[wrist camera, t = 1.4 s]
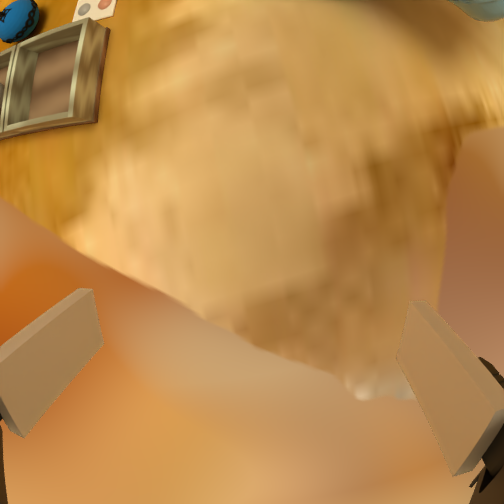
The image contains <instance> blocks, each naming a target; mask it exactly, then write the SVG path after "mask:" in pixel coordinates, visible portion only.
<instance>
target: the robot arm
mask: <svg viewBox="0 0 504 504" xmlns="http://www.w3.org/2000/svg"><path fill="white" fill-rule="evenodd" d="M447 1H449V2H452V3H454V4H455V5H456V6H457V7H459V8H460V9H461V10H462V11H464V12H465V13H466V14H467V15H468V16H470V17H471V18H473V19H475V20H479V21H484V22H490V21H496V20H500V19H503V18H504V0H447ZM103 344H104V341H103V337H102V333H101V328H100V323H99V319H98V314H97V309H96V304H95V299H94V293H93V289H85V288H78V289H77V290H76V291H74V292H73V293H71V294H70V295H68V296H67V297H66V298H64V299H63V300H61V301H60V302H59V303H57V304H56V305H55V306H53V307H52V308H50V309H49V310H48V311H46V312H45V313H44V314H42V315H41V316H40V317H38V318H37V319H36V320H34V321H33V322H31V323H30V324H29V325H27V326H26V327H25V328H24V329H22V330H21V331H20V332H19V333H17V334H16V335H14V336H13V337H12V338H11V339H9V340H8V341H7V342H5V343H4V344H3V345H2V346H0V421H1V420H2V419H3V420H4V421H5V423H6V425H7V426H8V428H9V430H10V431H12V432H14V433H16V434H17V435H19V436H21V437H23V438H25V437H26V435H27V434H28V433H29V432H30V430H31V429H32V428H33V427H34V425H35V424H36V423H37V422H38V420H39V419H40V418H41V417H42V416H43V414H44V413H45V412H46V410H47V409H48V408H49V407H50V406H51V405H52V403H53V402H54V401H55V400H56V399H57V397H58V396H59V395H60V394H61V393H62V392H63V390H64V389H65V388H66V387H67V386H68V384H69V383H70V382H71V381H72V380H73V379H74V378H75V376H76V375H77V374H78V373H79V372H80V371H81V369H82V368H83V367H84V366H85V365H86V364H87V363H88V361H89V360H90V359H91V358H92V357H93V356H94V354H95V353H96V352H97V351H98V350H99V349H100V348H101V347H102V346H103ZM396 359H397V361H398V363H399V365H400V367H401V369H402V370H403V372H404V374H405V376H406V378H407V380H408V382H409V384H410V386H411V388H412V390H413V392H414V394H415V396H416V398H417V400H418V402H419V404H420V406H421V408H422V410H423V412H424V414H425V416H426V418H427V420H428V423H429V425H430V427H431V429H432V431H433V433H434V435H435V438H436V440H437V442H438V444H439V446H440V448H441V451H442V453H443V455H444V457H445V460H446V462H447V465H448V467H449V469H450V472H451V474H452V476H453V477H454V476H457V475H460V474H463V473H466V472H469V471H472V470H473V469H474V468H475V466H476V465H477V464H478V462H479V461H480V460H481V458H482V459H483V461H484V463H485V467H484V468H483V469H482V470H481V471H480V473H479V474H478V475H477V477H476V478H475V479H474V480H473V481H472V483H471V484H470V486H469V487H473V485H474V484H475V483H476V482H477V484H476V487H475V490H474V493H473V495H472V498H471V500H470V503H469V504H504V378H503V377H502V376H501V375H499V372H498V371H497V370H496V369H495V367H494V366H493V365H492V364H491V363H489V362H488V361H486V360H484V359H483V358H481V357H477V356H476V355H475V354H474V353H473V352H472V351H471V349H470V348H469V347H468V346H467V345H466V344H465V343H464V341H463V340H462V339H461V338H460V337H459V336H458V335H457V334H456V333H455V331H454V330H453V329H452V328H451V327H450V326H449V325H448V324H447V323H446V322H445V321H444V320H443V318H442V317H441V316H440V315H439V314H438V313H437V312H436V311H435V310H434V309H433V308H432V307H431V306H430V305H429V304H428V303H427V302H426V301H410V302H409V306H408V311H407V316H406V320H405V325H404V329H403V333H402V338H401V342H400V346H399V349H398V353H397V357H396ZM2 442H3V441H2V429H1V426H0V504H8V501H7V494H6V485H5V477H4V464H3V443H2Z"/></svg>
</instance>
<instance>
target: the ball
mask: <svg viewBox="0 0 504 504" xmlns="http://www.w3.org/2000/svg"><path fill="white" fill-rule="evenodd" d="M4 89H5V87H4V85H3V84H2V83H0V108H1V107H2V102H3V95H4Z"/></svg>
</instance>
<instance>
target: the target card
mask: <svg viewBox="0 0 504 504" xmlns="http://www.w3.org/2000/svg"><path fill="white" fill-rule="evenodd" d="M116 2H117V0H78V3H77V7H76V10H75V14H74V18H73V21H72V22H75V21H78V20H81V19H84V18H87V17H90V18H91V19H93V20H94V21H97V20H101V19H104V18H108V17H112V16H113V15H114V11H115V6H116Z"/></svg>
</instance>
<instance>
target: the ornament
mask: <svg viewBox="0 0 504 504" xmlns="http://www.w3.org/2000/svg"><path fill="white" fill-rule="evenodd" d="M38 19H39V9H38V5H37V4H36V3H35V1H34V0H17V1H15V2H13V3H11V4H10V5H8V6H7V7H6V8H5V9H4V10H3V11H2V12H0V38H1V39H2V40H3V42H6V43H10V44H11V43H12V42H17V41H20V40H22V39H24V38H25V37H27V36H28V35H29V34H30V33H31V32H32V31H33V30H34V28H35V27H36V25H37V22H38Z"/></svg>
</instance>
